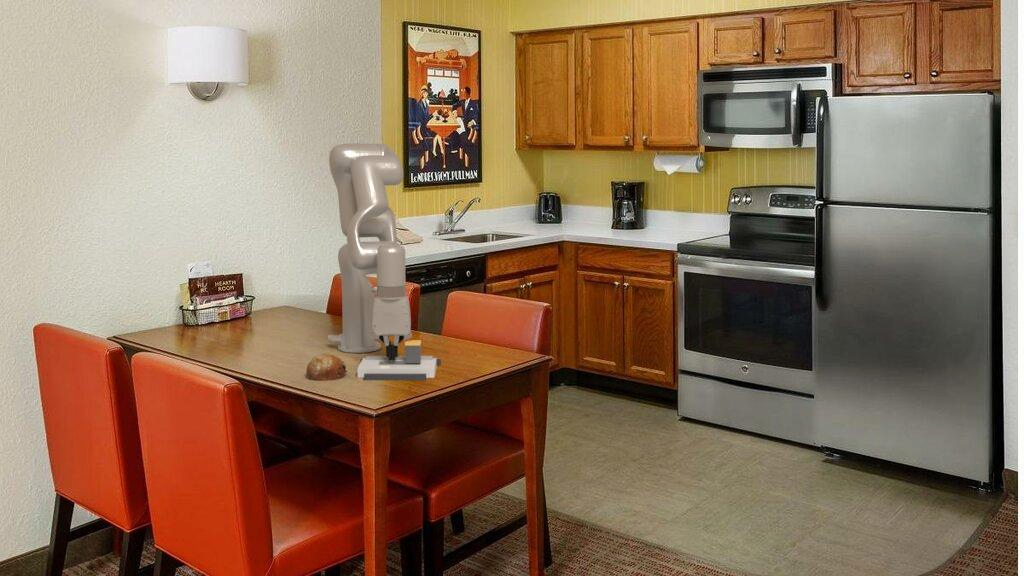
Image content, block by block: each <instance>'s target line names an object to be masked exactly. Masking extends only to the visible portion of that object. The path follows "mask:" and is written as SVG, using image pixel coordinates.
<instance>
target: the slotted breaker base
mask: <svg viewBox="0 0 1024 576" xmlns="http://www.w3.org/2000/svg"><path fill="white" fill-rule="evenodd" d="M362 359H363V360H362V361H361V360H360V362H359V365H358V367H357V378H364V374H365V373H369V374H426V379H429V378H433V379H434V378H435V376H436V372H437V367H438V365H437V359H438V358H437V357H434V356H433V355H421V362H420V363H405V355H398V357H395V361H393V360H391V361H389V360H388V357H386V355H366V356H365V357H363V358H362Z"/></svg>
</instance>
